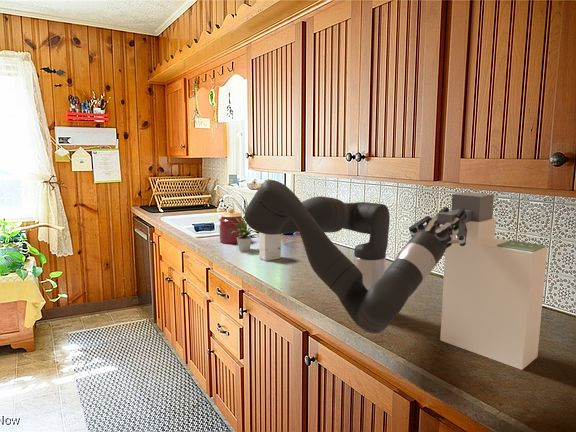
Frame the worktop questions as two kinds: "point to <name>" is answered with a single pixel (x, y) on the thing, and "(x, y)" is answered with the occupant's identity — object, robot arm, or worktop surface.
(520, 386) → the worktop surface
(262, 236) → the skincare box
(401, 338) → the worktop surface
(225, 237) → the canister
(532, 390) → the worktop surface
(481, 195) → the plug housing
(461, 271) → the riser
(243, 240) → the house plant
